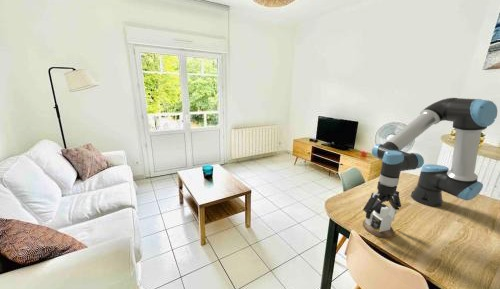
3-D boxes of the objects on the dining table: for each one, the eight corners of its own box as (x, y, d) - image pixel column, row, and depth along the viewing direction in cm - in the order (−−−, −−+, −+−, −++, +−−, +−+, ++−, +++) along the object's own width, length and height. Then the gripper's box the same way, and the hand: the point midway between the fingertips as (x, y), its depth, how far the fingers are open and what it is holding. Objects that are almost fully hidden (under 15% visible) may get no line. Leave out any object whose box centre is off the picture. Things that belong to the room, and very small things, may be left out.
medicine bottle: (366, 223, 106) (371, 203, 103) (377, 220, 108) (382, 200, 105) (378, 232, 100) (383, 211, 96) (390, 230, 101) (395, 208, 98)
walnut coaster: (382, 220, 110) (383, 218, 110) (399, 238, 98) (399, 236, 98) (358, 220, 111) (358, 218, 110) (371, 237, 98) (372, 235, 98)
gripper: (401, 176, 103) (393, 213, 109) (359, 182, 97) (352, 220, 104) (416, 183, 96) (406, 222, 102) (371, 190, 91) (364, 230, 97)
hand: (379, 221), depth 103 cm, fingers open, 13 cm apart
